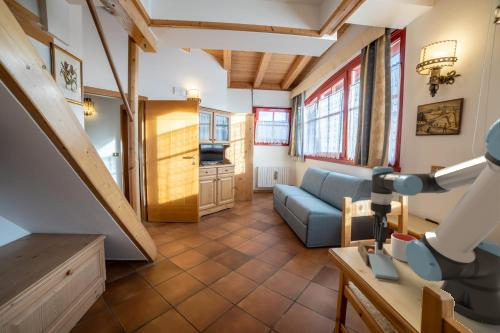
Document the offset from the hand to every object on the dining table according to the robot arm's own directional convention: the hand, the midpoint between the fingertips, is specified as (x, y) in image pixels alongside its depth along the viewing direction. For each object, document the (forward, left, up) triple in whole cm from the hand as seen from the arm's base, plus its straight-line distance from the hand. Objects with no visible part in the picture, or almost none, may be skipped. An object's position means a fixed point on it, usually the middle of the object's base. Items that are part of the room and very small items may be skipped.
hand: (378, 255), depth 92 cm
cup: (+11, -14, -5) cm, 18 cm away
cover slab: (-5, 0, -3) cm, 6 cm away
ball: (+9, 0, -4) cm, 10 cm away
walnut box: (+6, 0, -5) cm, 7 cm away
